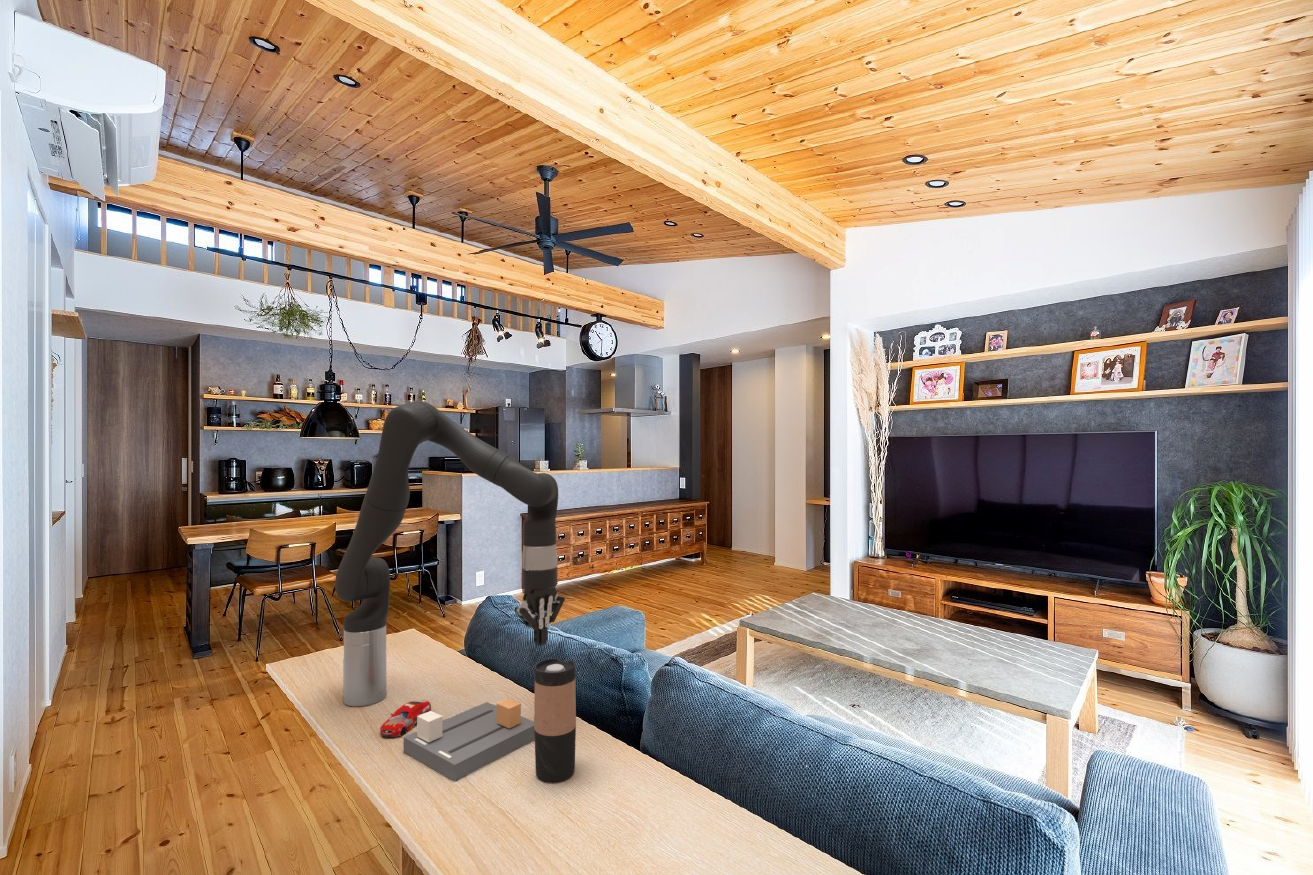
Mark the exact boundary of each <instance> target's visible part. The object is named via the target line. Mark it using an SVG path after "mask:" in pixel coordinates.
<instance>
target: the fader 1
mask: <svg viewBox="0 0 1313 875" xmlns="http://www.w3.org/2000/svg"><path fill="white" fill-rule="evenodd" d="M442 721H443V715H441V714H438V713H436V712H434V711H433V710H431V711H429V712H426V713H424V714H421V715H419V716H417V725H416V726H417V727H416V732H417V737H419V738H421V739H423V740H425V741H427V742H431V741H433V740H436V739H438V738H440V737H442Z"/></svg>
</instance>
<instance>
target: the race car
mask: <svg viewBox="0 0 1313 875" xmlns="http://www.w3.org/2000/svg"><path fill="white" fill-rule="evenodd" d="M429 711H432V705H431V701H429V700H425V699H423V700H421V699H417V700H413V701H408V702H406V703H404V704H402V705H401V706H400V707H399V708H397V709H396V710H395V711H394V712H393V713H390V717H389V718H387V720H385V721H384V722H383V723H382V724H381V726H380V728H379V731H380V732H379V733H380V735H381V736H382V737H384V738H397V737H404V735H406V733H407V732H409V731H410V730H411V729H413V728H414V727H416V726H417V716H419V715H421V714H424V713H426V712H429Z"/></svg>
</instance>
